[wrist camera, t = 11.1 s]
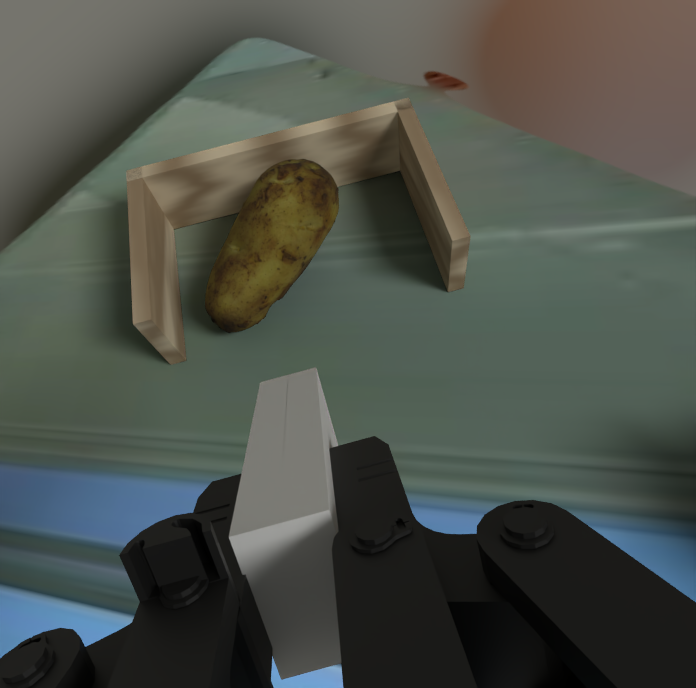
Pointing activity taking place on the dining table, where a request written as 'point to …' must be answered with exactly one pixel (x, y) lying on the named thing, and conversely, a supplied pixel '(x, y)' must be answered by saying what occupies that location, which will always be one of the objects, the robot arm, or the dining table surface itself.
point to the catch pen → (241, 175)
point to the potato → (271, 242)
